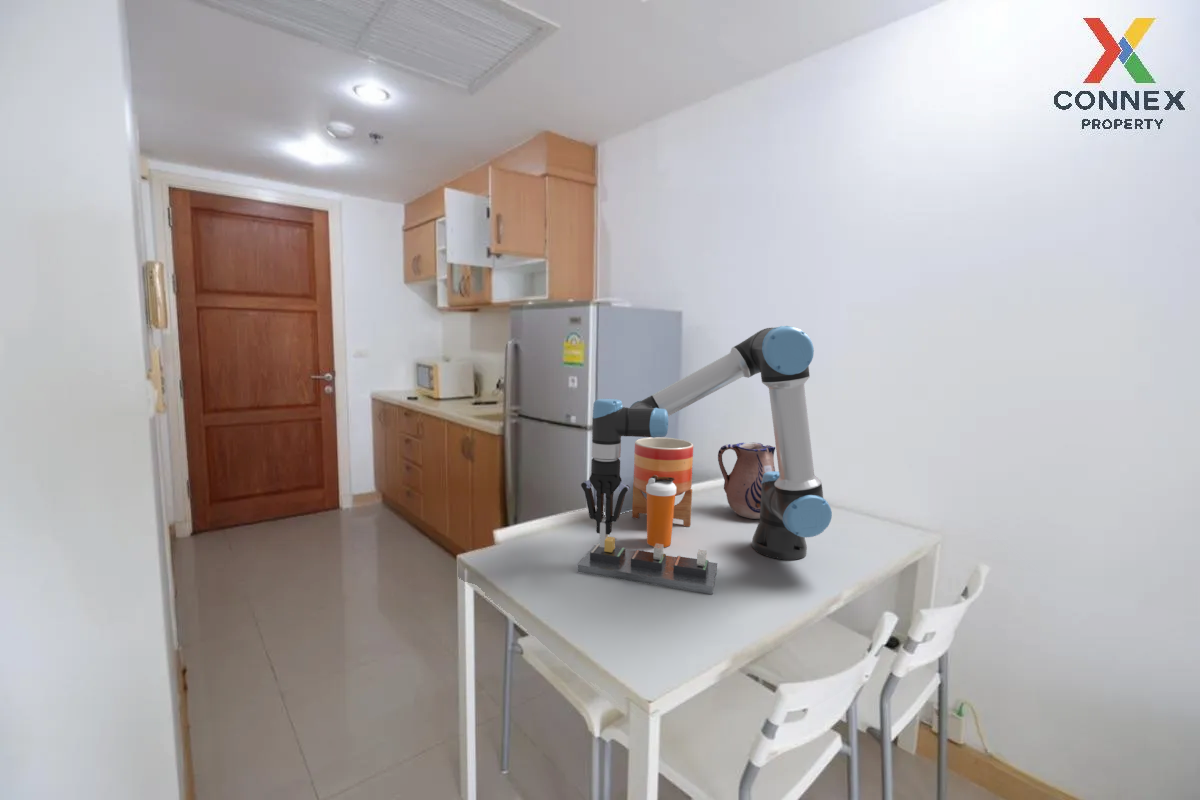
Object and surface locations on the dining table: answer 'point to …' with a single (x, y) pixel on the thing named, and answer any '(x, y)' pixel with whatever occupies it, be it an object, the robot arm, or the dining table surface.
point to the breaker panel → (650, 574)
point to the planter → (663, 472)
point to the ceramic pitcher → (747, 476)
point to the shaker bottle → (660, 510)
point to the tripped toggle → (609, 544)
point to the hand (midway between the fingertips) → (603, 545)
